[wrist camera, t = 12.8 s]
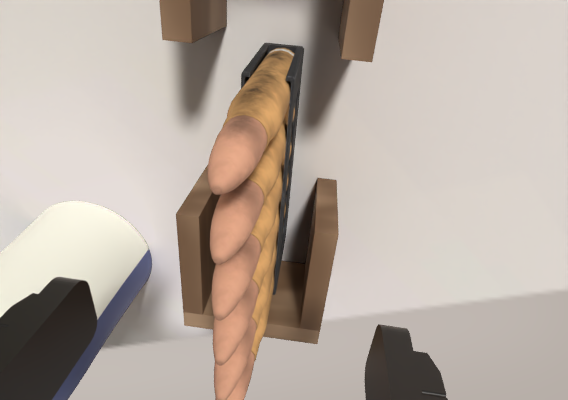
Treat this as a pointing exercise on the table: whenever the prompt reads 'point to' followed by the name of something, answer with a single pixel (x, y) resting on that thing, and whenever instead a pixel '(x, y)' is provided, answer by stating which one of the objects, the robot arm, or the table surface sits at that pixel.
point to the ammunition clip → (251, 209)
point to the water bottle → (78, 267)
